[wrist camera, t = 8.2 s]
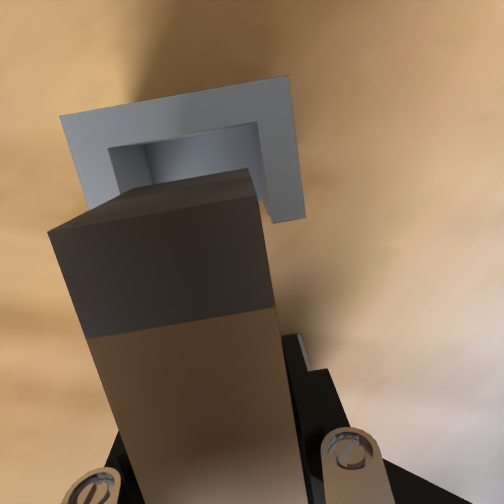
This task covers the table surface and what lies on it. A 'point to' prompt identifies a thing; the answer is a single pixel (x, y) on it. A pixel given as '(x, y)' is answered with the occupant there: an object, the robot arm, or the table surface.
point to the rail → (187, 339)
